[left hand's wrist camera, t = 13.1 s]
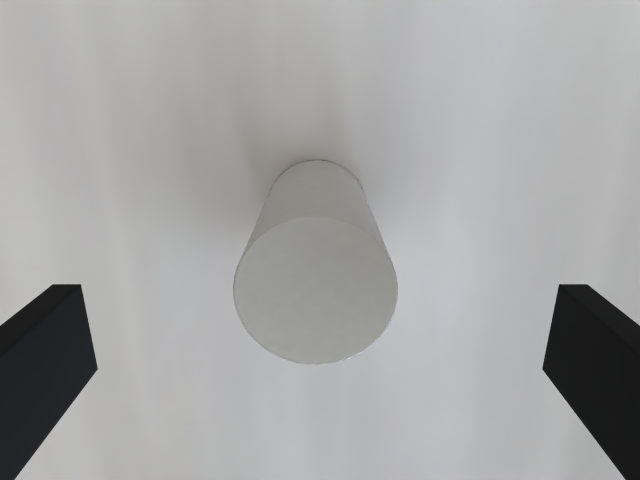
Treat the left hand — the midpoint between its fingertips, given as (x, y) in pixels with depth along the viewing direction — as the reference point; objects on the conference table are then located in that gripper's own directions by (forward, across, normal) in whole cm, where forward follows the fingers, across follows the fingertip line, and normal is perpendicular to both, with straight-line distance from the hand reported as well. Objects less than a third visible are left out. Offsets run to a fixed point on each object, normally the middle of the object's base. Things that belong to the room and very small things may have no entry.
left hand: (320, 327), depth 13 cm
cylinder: (+13, 0, 0) cm, 13 cm away
